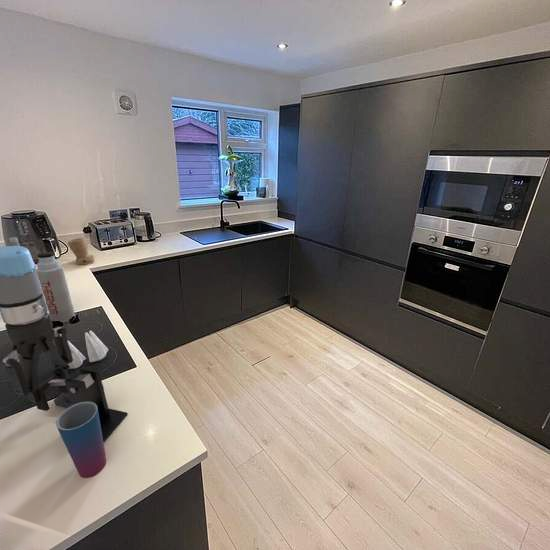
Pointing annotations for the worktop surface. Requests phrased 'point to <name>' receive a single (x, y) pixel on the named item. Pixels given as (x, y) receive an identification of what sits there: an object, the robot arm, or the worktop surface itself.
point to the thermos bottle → (54, 287)
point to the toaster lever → (57, 381)
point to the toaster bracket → (95, 400)
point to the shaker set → (94, 351)
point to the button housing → (63, 400)
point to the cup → (83, 437)
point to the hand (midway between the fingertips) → (54, 399)
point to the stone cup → (81, 251)
